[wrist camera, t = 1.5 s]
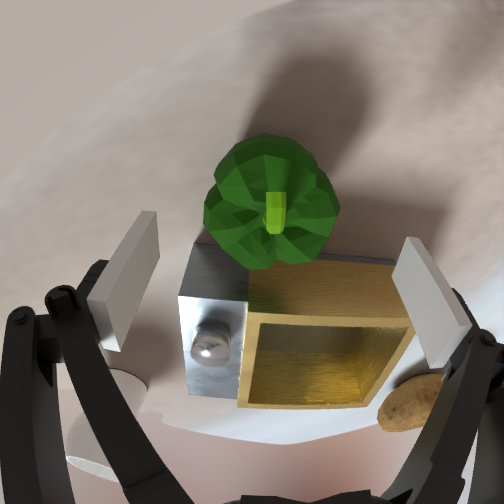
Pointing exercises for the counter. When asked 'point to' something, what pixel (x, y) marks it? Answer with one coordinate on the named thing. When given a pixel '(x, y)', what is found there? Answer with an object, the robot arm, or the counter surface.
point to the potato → (410, 403)
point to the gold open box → (291, 330)
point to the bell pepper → (270, 203)
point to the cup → (83, 439)
